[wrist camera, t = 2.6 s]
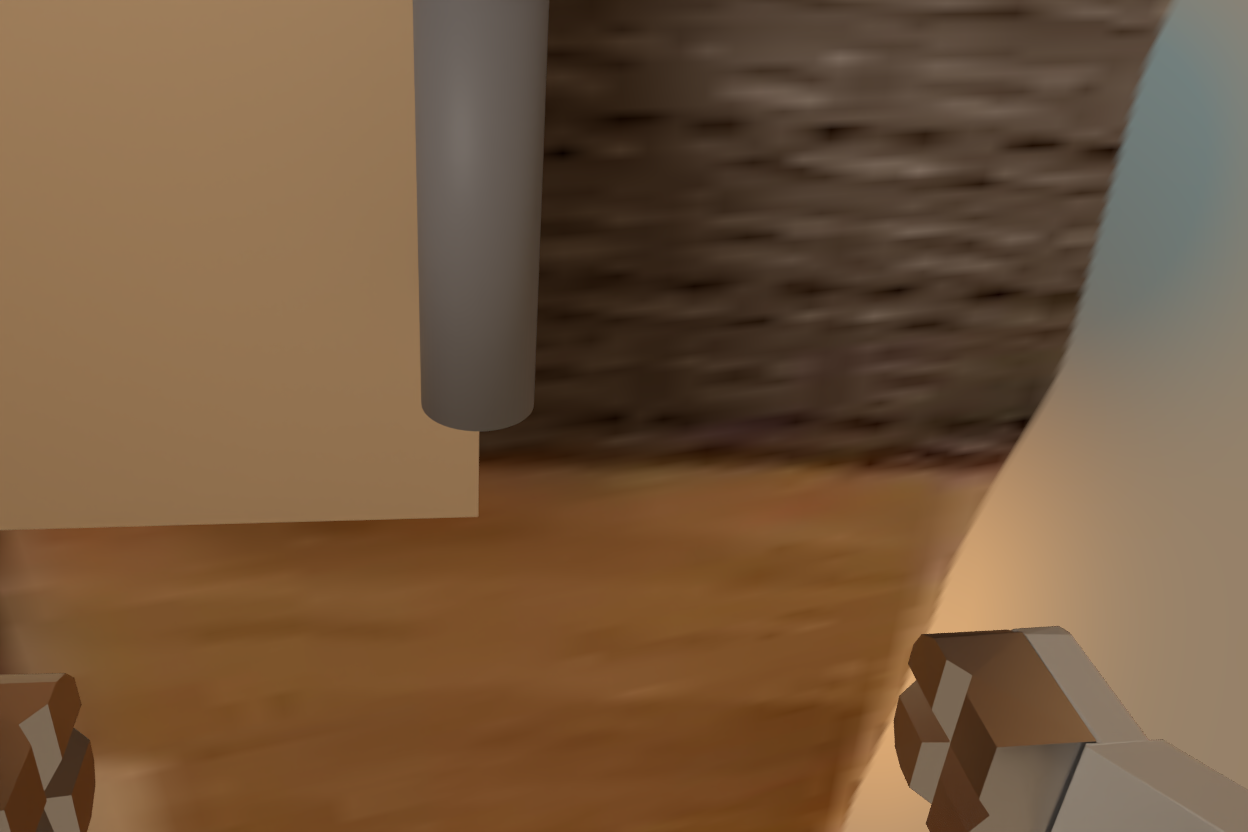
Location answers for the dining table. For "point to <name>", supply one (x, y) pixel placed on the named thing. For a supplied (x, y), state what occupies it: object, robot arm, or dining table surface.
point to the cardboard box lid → (264, 256)
